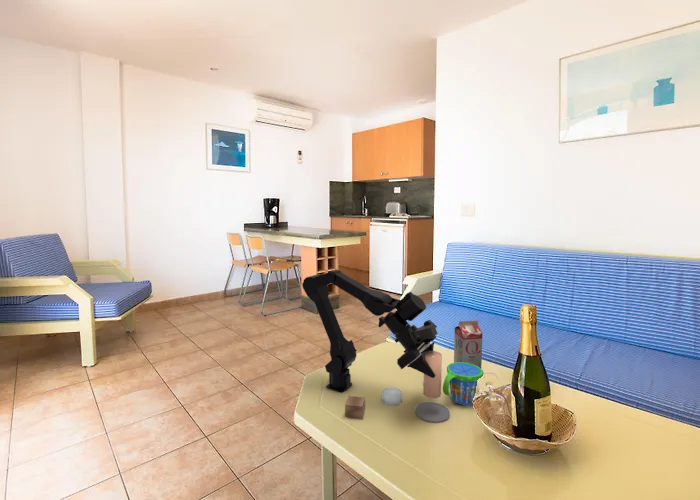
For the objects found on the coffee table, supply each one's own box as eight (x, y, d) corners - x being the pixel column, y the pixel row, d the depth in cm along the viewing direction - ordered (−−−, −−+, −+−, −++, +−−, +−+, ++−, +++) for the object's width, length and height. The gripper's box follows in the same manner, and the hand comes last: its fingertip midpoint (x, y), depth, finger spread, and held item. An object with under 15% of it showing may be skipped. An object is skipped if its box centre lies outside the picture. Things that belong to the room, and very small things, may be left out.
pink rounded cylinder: (424, 397, 102) (425, 357, 101) (422, 389, 107) (423, 350, 105) (442, 398, 101) (443, 358, 100) (439, 389, 106) (440, 351, 105)
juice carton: (480, 387, 119) (482, 323, 117) (461, 388, 118) (463, 324, 116) (471, 378, 126) (473, 317, 123) (453, 379, 125) (454, 318, 123)
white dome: (378, 402, 111) (378, 393, 110) (387, 394, 116) (387, 385, 115) (396, 408, 108) (396, 398, 107) (404, 399, 113) (404, 390, 112)
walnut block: (345, 418, 103) (345, 404, 102) (348, 408, 108) (348, 395, 107) (362, 419, 102) (362, 406, 101) (365, 410, 107) (365, 397, 106)
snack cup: (472, 387, 119) (473, 358, 118) (495, 403, 110) (497, 371, 108) (432, 396, 114) (433, 366, 112) (453, 414, 104) (454, 380, 103)
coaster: (409, 415, 103) (409, 414, 103) (422, 400, 112) (422, 398, 112) (443, 426, 98) (443, 424, 98) (454, 409, 106) (454, 407, 106)
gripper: (408, 322, 95) (448, 371, 91) (430, 306, 111) (465, 347, 107) (381, 345, 100) (418, 393, 96) (406, 326, 116) (438, 366, 112)
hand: (437, 373), depth 103 cm, fingers closed on pink rounded cylinder, 5 cm apart
